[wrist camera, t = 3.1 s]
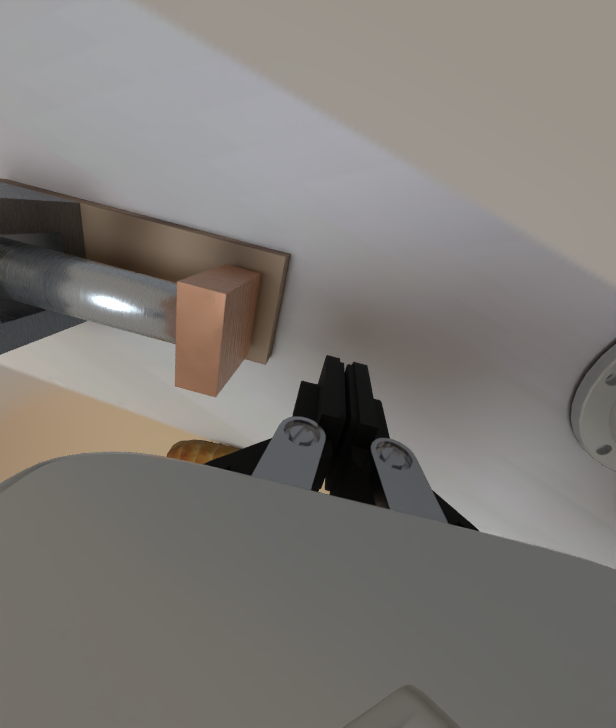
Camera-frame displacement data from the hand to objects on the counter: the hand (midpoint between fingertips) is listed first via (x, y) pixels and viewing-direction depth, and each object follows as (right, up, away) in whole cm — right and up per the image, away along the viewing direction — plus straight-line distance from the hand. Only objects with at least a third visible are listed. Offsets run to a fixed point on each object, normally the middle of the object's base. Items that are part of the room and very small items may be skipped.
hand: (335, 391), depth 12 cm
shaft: (-11, +6, +5) cm, 13 cm away
